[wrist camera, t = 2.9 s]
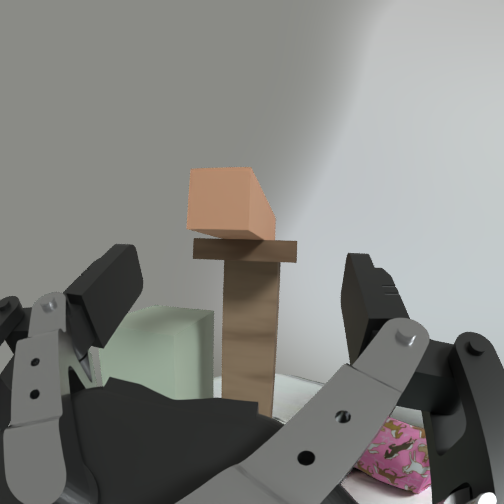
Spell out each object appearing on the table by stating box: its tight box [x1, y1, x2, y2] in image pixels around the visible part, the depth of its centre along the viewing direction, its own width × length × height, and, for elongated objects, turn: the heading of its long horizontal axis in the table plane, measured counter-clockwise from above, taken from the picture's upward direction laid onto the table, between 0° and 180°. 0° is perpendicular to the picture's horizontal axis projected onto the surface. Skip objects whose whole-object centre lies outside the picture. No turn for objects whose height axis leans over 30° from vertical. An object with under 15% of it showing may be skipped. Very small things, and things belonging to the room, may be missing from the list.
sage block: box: [99, 305, 214, 400], centre depth 38 cm, size 16×10×22 cm, turn 172°
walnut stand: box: [193, 238, 297, 418], centre depth 36 cm, size 16×12×32 cm
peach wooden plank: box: [187, 167, 275, 240], centre depth 31 cm, size 24×4×4 cm, turn 172°
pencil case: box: [354, 417, 431, 494], centre depth 33 cm, size 21×9×9 cm, turn 33°
